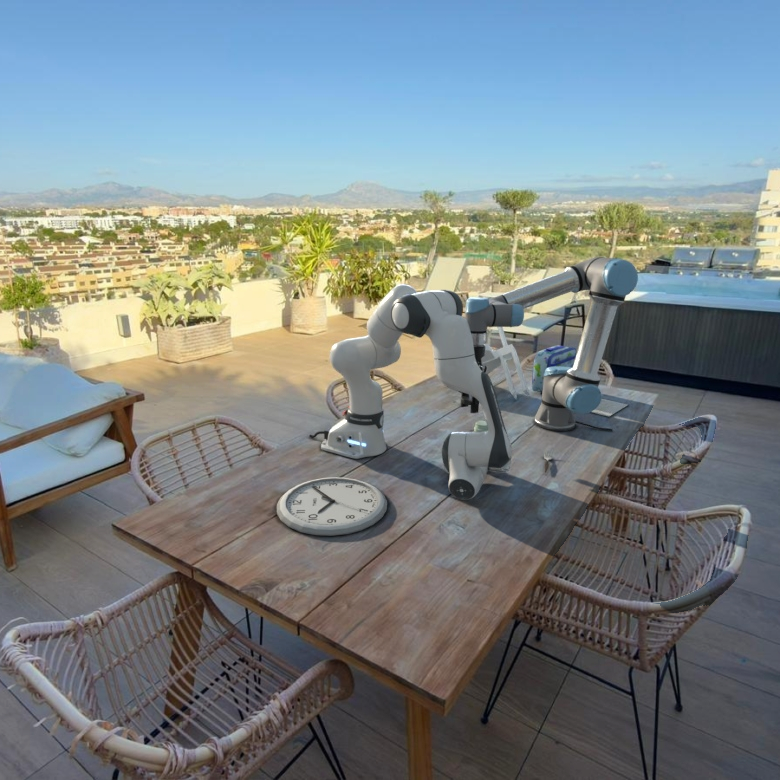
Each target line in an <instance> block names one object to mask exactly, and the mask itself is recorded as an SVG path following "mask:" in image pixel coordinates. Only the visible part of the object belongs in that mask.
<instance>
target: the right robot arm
mask: <svg viewBox="0 0 780 780" xmlns="http://www.w3.org/2000/svg"><path fill="white" fill-rule="evenodd" d="M638 281H639V275H638V270H637V268H636V267H635V265H634V263H632V262H631V261H628V260H626V259H622V258H617V257H604V256H595V257H592V258H589V259H586V260H582V261H580V262H578V263H575V264H573V265H570V266H568V267H566V268H565V270H564V271H563V272H560V273H557V274H554V275H551V276H549V277H546V278H543V279H540V280H538V281H535V282H533V283H530V284H527V285H524V286H522V287H519V288H516V289H513V290H511V291H508V292H506V293H503V294H500V295H497V296H494V297H479V296H472V297H471V296H470V297H468V298H467V300H466V302H465V309H464V318H465V319H466V320H467V322H468V324H469V328H470V331H471V335H472V340H473V345H474V353H475V359H476V362H477V364H478V366H479V368H480V369H481V371H482V372H484V373H486V369H487V367H486V366H483V365H482V361H481V358H482V357H484V356H485V344H487V333H488V328H495V327H496V328H497V327H503V328H515V327H520V326H521V325H522V324H523V322H524V319H525V311H524V309H525V310H526V309H527V308H530V307H533V306H536V305H539V304H541V303H544V302H546V301H550V300H552V299H555V298H557V297H560V296H563V295H566V294H568V293H569V294H570V293H574V294H578V293H579V292H584V291H589V292H588V297H589V299H590V305H589V309H588V311H587V315H586V316H587V317H586V318H585V319H586V320H585V323H584V326H583V330H582V333H581V336H580V340H579V343H578V347H577V349H576V357H575V361H574V364H573V367H548V368H547V369H546V370H545V373H544V382H543V391H542V394H541V402H540V405H539V406H538V410H537V411H536V413H535V416H534V424H535V425H536V426H537V427H539V428H542V429H544V430H549V431H556V432H567V431H572V430H574V429H575V428H576V424H578V425H581V426H584V427H588V428H592V429H595V430H599V431H608V432H613V428H607V427H599V426H595V425H592V424H588V423H585V422H581V421H579V420H578V421H577V420H576V418H575V417H576V416H575V414H576V415H587V414H590V413H592V412H591V411H593V410H595V409H596V408H597V407H598V405H599V404H600V402H601V399H603V397H602V396H603V393H602V392H601V389H600V387H599V386H600V382H601V378H600V376H599V369H600V366H601V363H602V361H603V360H602V359H603V356H604V353H605V350H606V346H607V344H608V340H609V336H610V333H611V330H612V327H613V323H614V319H615V318H616V317H615V316H616V313H617V310H618V307H619V306H620V305H622V304H624V303H625V300H626V298H627V297H626V296H628V295H630V294H631V293H632V292H633V291H634V290H635V289H636V287H637V284H638ZM466 395H469V394H466V393H463V392H460V398H461V397H462V396H466ZM468 407H469V405H465V404H462V403H461V402H460V408H468ZM479 409H480V402H479V401H478V400H477V399H476V398H475V397H473V396H472V397H471V405H470V412H469V413H470V414H478V413H479Z"/></svg>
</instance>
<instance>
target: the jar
mask: <svg viewBox="0 0 780 780" xmlns="http://www.w3.org/2000/svg"><path fill="white" fill-rule="evenodd" d="M478 431H488V427H487V423H486V420H476V422H475V425H474V427H473V432H478Z"/></svg>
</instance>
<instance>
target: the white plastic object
mask: <svg viewBox="0 0 780 780" xmlns="http://www.w3.org/2000/svg"><path fill="white" fill-rule="evenodd" d="M496 328H497V332H498V335H499V338H500V342H501V345H502V347H500V348H498V349H496V350H495V349H493V348H492V347H491V346H490V344H489V343H488V342H486V344H485V356H484V357H482V358H481V361H482V365H483V366H486V367H487V369H486V373H487V374H488V375H489V374H490V373H492V372H494V371H495V370H496V369H497V368H499V367H500V366H502V370H503V373H504V376H505V380H506V383H507V386H508V390H509V393H510V394H511V395H512V397H513V398H514V399H515V400H517V392H516V391H517V390H516V388H515V385H514V381H513V378H512V375H511V371H510V369H509V365H508V361H510V360H513V363H514V366H515V369H516V372H517V376H518V380H519V382H520V385H521V389H522V391H523V393H524V395H525V396H526V397H528V396H531V395H530V390H529V388H528V387H529V386H528V384H527V381H526V378H525V375H524V371H523V369H522V368H523V367H522V366H521V362H520V359H519V355H518V352H517V349H516V347H515V346H514V345H513V343H511V344H508V341H507V337H506V334H505V331H504V327H496Z"/></svg>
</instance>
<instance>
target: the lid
mask: <svg viewBox="0 0 780 780" xmlns="http://www.w3.org/2000/svg"><path fill="white" fill-rule="evenodd" d="M471 397H472V396H471V395H466V396H462V397H461V396H460V404H461V403H462V404H465V405H468V406H471Z"/></svg>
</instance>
